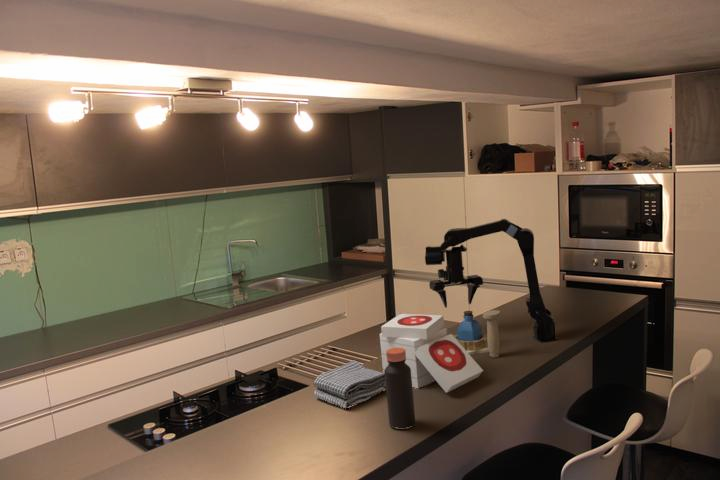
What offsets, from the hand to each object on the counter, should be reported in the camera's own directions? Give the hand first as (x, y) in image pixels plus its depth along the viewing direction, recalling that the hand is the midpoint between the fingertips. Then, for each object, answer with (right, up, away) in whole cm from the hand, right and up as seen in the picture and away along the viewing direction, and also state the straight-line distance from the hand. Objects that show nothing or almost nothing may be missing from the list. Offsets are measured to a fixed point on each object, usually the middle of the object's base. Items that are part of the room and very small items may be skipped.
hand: (457, 305), depth 220 cm
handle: (+9, -15, -19) cm, 26 cm away
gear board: (+3, -14, -8) cm, 16 cm away
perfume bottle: (+3, -13, -8) cm, 16 cm away
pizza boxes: (-14, -19, -34) cm, 42 cm away
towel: (-38, -23, -40) cm, 60 cm away
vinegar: (-25, -24, -63) cm, 72 cm away
